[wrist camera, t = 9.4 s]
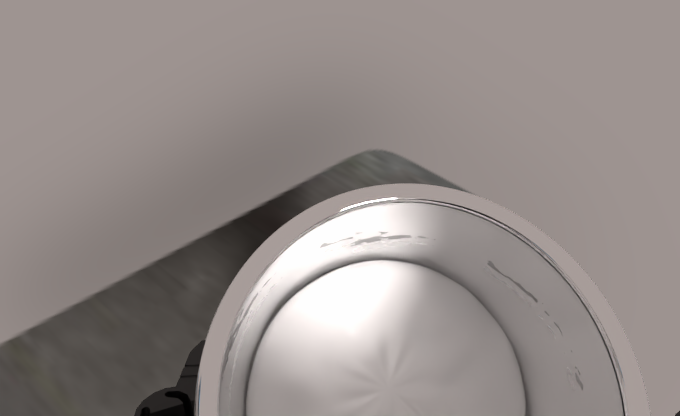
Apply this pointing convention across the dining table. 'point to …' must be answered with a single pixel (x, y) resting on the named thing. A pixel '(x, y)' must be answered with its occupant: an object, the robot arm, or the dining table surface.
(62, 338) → the dining table surface
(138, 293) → the dining table surface
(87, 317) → the dining table surface
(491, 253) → the beer glass
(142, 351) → the dining table surface
